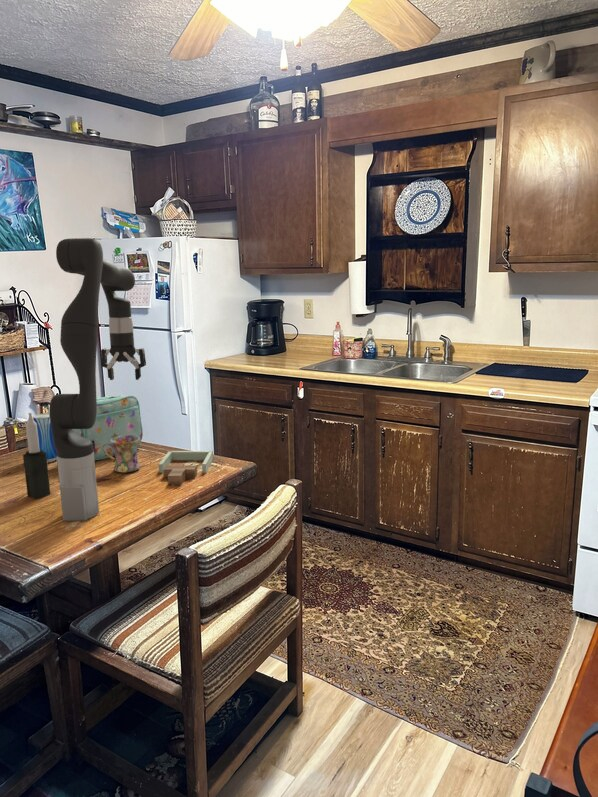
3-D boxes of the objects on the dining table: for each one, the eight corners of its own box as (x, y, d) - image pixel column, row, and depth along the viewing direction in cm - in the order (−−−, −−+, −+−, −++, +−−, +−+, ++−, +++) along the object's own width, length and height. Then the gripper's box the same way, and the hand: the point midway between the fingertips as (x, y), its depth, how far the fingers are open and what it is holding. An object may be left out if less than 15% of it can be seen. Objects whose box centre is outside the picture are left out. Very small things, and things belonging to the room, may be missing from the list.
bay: (206, 472, 191) (205, 464, 190) (159, 472, 191) (158, 464, 191) (213, 459, 205) (213, 450, 204) (169, 459, 205) (169, 451, 204)
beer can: (34, 458, 208) (29, 414, 205) (60, 454, 211) (55, 411, 208) (35, 464, 201) (30, 419, 197) (61, 461, 204) (57, 416, 201)
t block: (191, 484, 180) (190, 475, 180) (158, 484, 180) (158, 475, 180) (197, 474, 190) (197, 465, 189) (166, 474, 190) (166, 465, 190)
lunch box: (87, 466, 199) (81, 404, 194) (67, 461, 204) (61, 401, 200) (146, 446, 221) (142, 390, 216) (127, 442, 226) (123, 387, 221)
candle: (52, 493, 174) (43, 411, 169) (37, 499, 170) (27, 415, 165) (41, 490, 177) (32, 409, 171) (25, 496, 173) (16, 413, 167)
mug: (143, 464, 200) (141, 434, 197) (139, 473, 191) (137, 442, 188) (107, 466, 198) (104, 436, 196) (101, 475, 189) (98, 444, 187)
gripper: (95, 332, 189) (99, 381, 193) (140, 331, 189) (143, 381, 193) (103, 330, 197) (107, 377, 200) (145, 329, 197) (148, 377, 200)
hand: (124, 379), depth 196 cm, fingers open, 8 cm apart
